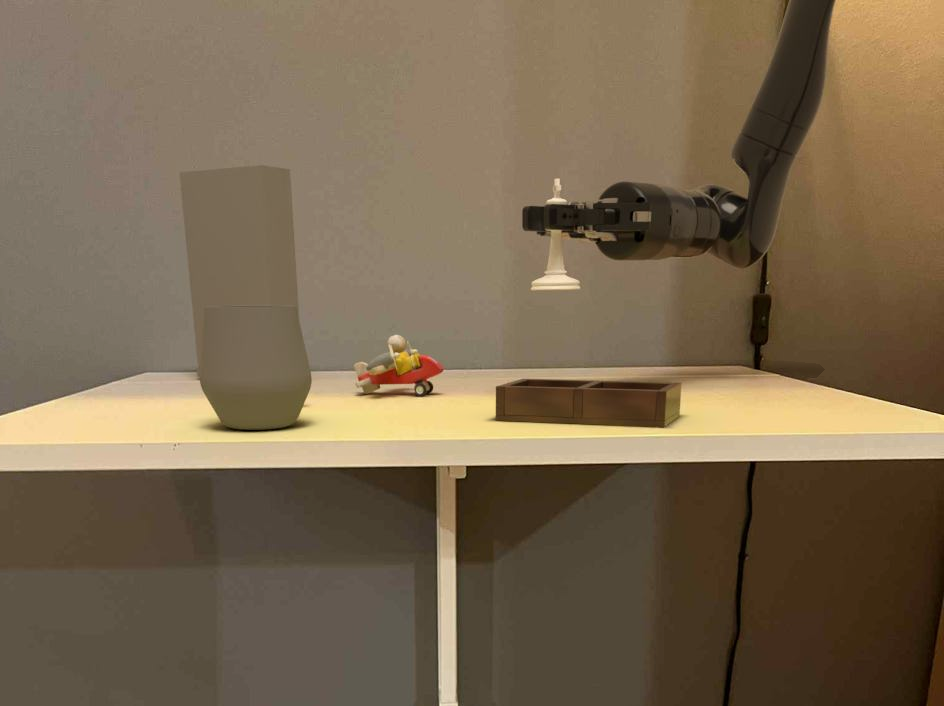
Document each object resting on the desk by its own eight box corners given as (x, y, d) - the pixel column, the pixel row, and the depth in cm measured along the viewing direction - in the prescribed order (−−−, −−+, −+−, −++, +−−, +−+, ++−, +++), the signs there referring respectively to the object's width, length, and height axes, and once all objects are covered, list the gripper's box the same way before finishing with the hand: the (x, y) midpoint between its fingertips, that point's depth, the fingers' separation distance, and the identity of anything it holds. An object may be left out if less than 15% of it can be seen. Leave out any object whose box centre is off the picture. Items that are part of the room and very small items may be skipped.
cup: (328, 420, 89) (322, 304, 86) (291, 435, 81) (282, 307, 77) (231, 418, 91) (222, 305, 88) (185, 432, 83) (172, 307, 79)
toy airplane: (448, 395, 109) (447, 334, 107) (374, 400, 105) (371, 337, 103) (410, 388, 116) (408, 331, 114) (339, 393, 112) (336, 334, 110)
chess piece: (536, 290, 95) (537, 176, 91) (525, 290, 99) (526, 181, 96) (586, 289, 95) (588, 175, 92) (573, 289, 100) (575, 181, 96)
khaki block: (308, 379, 129) (295, 169, 120) (276, 383, 124) (261, 165, 116) (230, 375, 136) (213, 176, 127) (197, 379, 131) (177, 172, 122)
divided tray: (679, 415, 91) (681, 382, 90) (664, 427, 84) (666, 391, 82) (522, 410, 96) (522, 378, 95) (495, 420, 89) (495, 386, 88)
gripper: (594, 188, 108) (483, 180, 96) (703, 178, 98) (594, 166, 87) (592, 262, 110) (484, 262, 99) (698, 258, 101) (591, 257, 90)
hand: (536, 217), depth 93 cm, fingers closed on chess piece
